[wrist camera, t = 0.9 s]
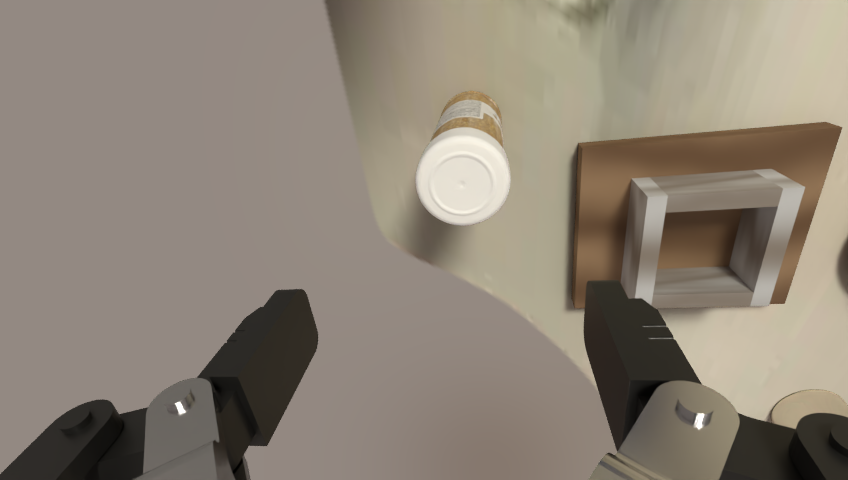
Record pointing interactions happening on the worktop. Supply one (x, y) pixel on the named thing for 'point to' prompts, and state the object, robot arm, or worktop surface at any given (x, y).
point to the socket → (699, 213)
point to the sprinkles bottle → (465, 162)
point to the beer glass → (807, 406)
